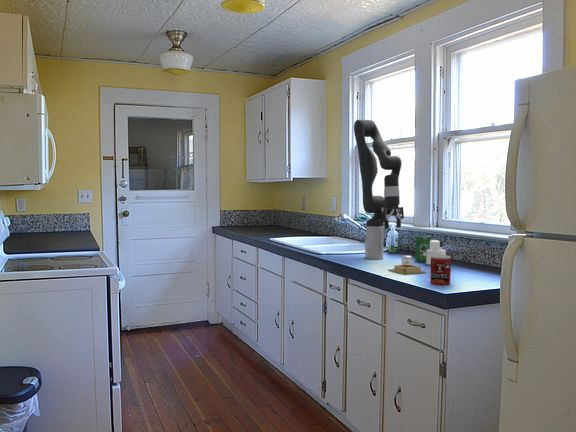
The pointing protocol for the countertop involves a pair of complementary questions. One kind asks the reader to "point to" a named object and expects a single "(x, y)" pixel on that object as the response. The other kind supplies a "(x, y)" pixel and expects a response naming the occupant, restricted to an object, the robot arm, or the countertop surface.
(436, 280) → the canned food
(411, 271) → the collar
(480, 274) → the countertop surface
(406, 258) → the cylinder
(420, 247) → the coffee box
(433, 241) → the medicine bottle
